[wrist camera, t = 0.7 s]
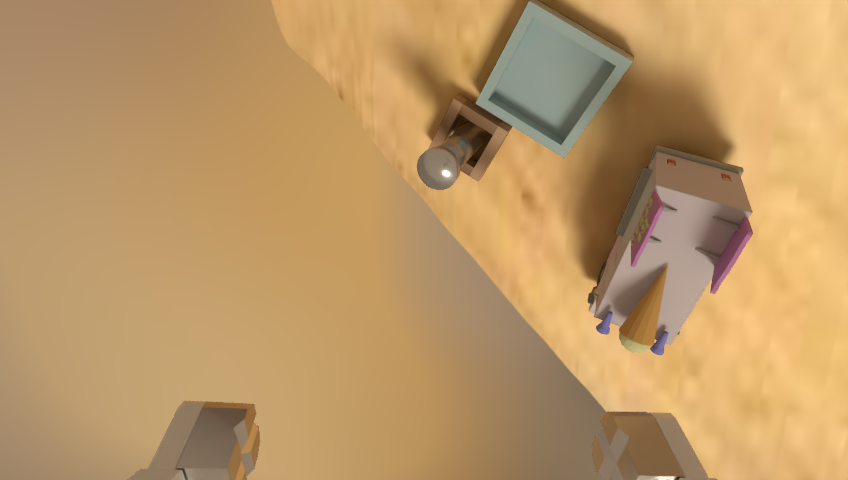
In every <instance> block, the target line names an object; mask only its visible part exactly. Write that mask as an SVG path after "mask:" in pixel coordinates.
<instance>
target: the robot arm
mask: <svg viewBox="0 0 848 480" xmlns="http://www.w3.org/2000/svg"><path fill="white" fill-rule="evenodd" d="M255 416H256V410H255V406H254V404H243V403H224V402H203V401H184V402H183V403H182V404H181V405H180V406H179V407H178V409H177V411H176V413H175V415H174V417H173V419H172V421H171V423H170V425H169V427H168V429H167V431H166V433H165V435H164V437H163V439H162V441H161V444H160V446H159V447H158V449H157V451H156V454H155V456H154V458H153V460H152V462H151V464H150V466H149V468H148V469H140V470H139V471H138V472H137V473H135V474H134V475H133V476H131V477H130V478H129V479H128V480H247V478H246V476H247V475H248V474H250V473H251V471H253V470H254V468H255V464H256V461H257V457H258V451H259V444H260V432H259V426H258V425H256V424H255V423H254V419H255ZM601 424H602V427H603V429H601V430H600V431H598V432H597V433H596V434H595V436H594V439H593V442H592V457H593V462H594V466H595V469H596V472H597V475H598V476H599V477H600V478H601V479H602V480H717V479H716V478H709V477H708V475H707V473H706V471H705V470H704V468H703V466H702V464H701V463H700V461H699V459H698V457H697V455H696V454H695V452H694V450H693V448H692V446H691V445H690V443H689V441H688V439H687V438H686V436H685V434H684V432H683V430H682V429H681V427H680V425H679V423H678V422H677V420H676V418H675V417H674V416H673V415H672V414H671V413H647V412H606V413H605V414H604V415H603V417H602V419H601Z"/></svg>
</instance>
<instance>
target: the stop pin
mask: <svg viewBox="0 0 848 480" xmlns="http://www.w3.org/2000/svg"><path fill="white" fill-rule="evenodd" d="M484 140H485V133H484V130H483V129H482V128H481V127H479V126H477V125H476V124H474V123H473V122H468V123H465V124H464V125H462V126H461V127H460V128H459V129H458V130H457V131H456V132H455V133H453V134H452V135H451V136H450V137H449V138H448V139H447V140H445V141H444V142H443V143H442V144H441V145H440V146H435V147H431V148H429V149H428V150H426V151H425V152H424V153H423V154H422V155H421V156H420V158H419V160H418V163H417V171H418V174H419V177H420V178H421V180H422V181H423V182H424V183H425V184H426V185H427V186H428V187H430V188H433V189H436V190H444V189H447V188H449V187H450V186H452V184H453V183H454V182H455V181H456V180H457V179H458V177H459V174H460V168H461V167H462V166H463V165H464V164H465V163H466V162H467V161H468V160H469V159H470V157H471V156H472V155H473V154H474V153H475V152H476V151H477V150H478V149H479V148H480V147H481V146H482V144H483V143H484Z"/></svg>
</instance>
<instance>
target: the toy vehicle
mask: <svg viewBox="0 0 848 480" xmlns="http://www.w3.org/2000/svg"><path fill="white" fill-rule="evenodd" d="M743 171H744V170H743V168H741V167H738V166H734V165H730V164H727V163H723V162H719V161H715V160H712V159H708V158H704V157H701V156H697V155H693V154H689V153H686V152H682V151H678V150H675V149H671V148H667V147H663V146H660V145H656V147H655V149H654V151H653V154H652V156H651V162H650V165H649V166H647V168H643V170H642V172H641V175H640V177H639V179H638V181H637V184H636V186H635V188H634V191H633V193H632V195H631V198H630V200H629V202H628V205H627V207H626V209H625V211H624V214H623V216H622V218H621V221H620V223H619V225H618V228H617V230H616V232H615V234H616V235H618V237H617V239H616V241H615V244H614V246H613V248H612V250H611V253H610V255H609V257H608V259H607V260H606V261H605V262H604V264H603V267H602V269H601V271H600V274H599V277H598V280H597V286H595V287H593V290H592V292H591V293H590V294H589V296H588V303H590V308H589V312H592V313H595V315H594V317H596V318H599V319H601V320H603V321H602V322H601V323H600V324H599V325H597V326H596V329H597V331H598V332H600V333H601V334H606V335H607V334H609V329H610V328H609V325H610V323H612V324H615V325H618V326H620V329H619V331H620V334H619V338H620V341H621V343H622V345H623V346H624V347H625V348H626V349H627V350H629V351H631V352H636V353H641V352H645V351H647V350H648V349H650V350H651V351H652V352H653V353H655V354H657V355H662V354H663V353H664V345H665V343H666V344H669V345H671V344H672V342H673V341H674V339H675V337H676V336H677V335H679V333H680V329H681V327H682V326H683V324H684V323H685V321H686V319H687V318H688V316H689V314H690V313H691V311H692V310H693V308H694V306H695V305H696V303H697V301H698V300H699V298H700V297H701V295H702V293H703V292H704V290H705V288H706V287H707V285H708V283H709V282H710V280H711V279H712V284H711V291H710V293H712V294H715V293H716V291H717V290H718V288H719V286H720V284H721V283H722V282H723V280H724V279H725V277H726V276H727V274H729V272H730V270H731V268H732V267H733V265H734V264H735V262H736V260H737V259H738V257H739V255H740V254H741V252H742V250H743V248H744V247H745V245H746V243H747V242H748V241H749V239H750V238H751V236H752V234H753V231H752V229H751V226H750V223H749V220H748V218H749V217H750V215H751V213H752V210H751V207H750V204H749V201H748V198H747V195H746V192H745V189H744V186H743V183H742V180H741V175H742V173H743ZM712 277H713V278H712ZM655 339H656V340H657V341H656V343H654V340H655Z"/></svg>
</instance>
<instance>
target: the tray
mask: <svg viewBox="0 0 848 480" xmlns="http://www.w3.org/2000/svg"><path fill="white" fill-rule="evenodd" d="M633 59H634V57H633V56H632V55H630V54H628V53H627V52H625V51H623V50H621V49H620V48H618V47H616V46H615V45H613V44H611V43H610V42H608V41H606V40H604V39H603V38H601V37H599V36H598V35H596V34H594V33H593V32H591V31H589V30H587V29H586V28H584V27H582V26H581V25H579V24H577V23H576V22H574V21H572V20H570V19H569V18H567V17H565V16H564V15H562V14H560V13H559V12H557V11H555V10H553V9H552V8H550V7H548V6H547V5H545V4H543V3H542V2H540V1H538V0H530V1H529V2H528V4H527V6H526V8H525V10H524V12H523V14H522V16H521V18H520V19H519V21H518V23H517V25H516V27H515V29H514V31H513V33H512V35H511V37H510V38H509V40H508V42H507V44H506V46H505V48H504V50H503V52H502V54H501V56H500V58H499V59H498V61H497V63H496V65H495V67H494V69H493V71H492V73H491V75H490V77H489V78H488V80H487V82H486V84H485V86H484V88H483V90H482V92H481V94H480V96H479V97H478V99H477V101H476V104H477V105H479V106H480V107H482V108H484V109H485V110H487V111H489V112H490V113H492V114H493V115H495V116H497V117H498V118H500V119H501V120H503V121H505V122H506V123H508V124H510V125H511V126H513V127H514V128H516V129H518V130H519V131H521V132H523V133H524V134H526V135H527V136H529V137H531V138H532V139H534V140H535V141H537V142H539V143H540V144H542V145H544V146H545V147H547V148H548V149H550V150H552V151H553V152H555V153H557V154H558V155H560V156H561V157H563V158H565V156H566V155H567V153H568V152H569V151H570V149H571V148H572V146H573V145H574V144H575V142H576V141H577V139H578V138H579V137H580V135H581V134H582V132H583V131H584V130H585V128H586V127H587V125H588V124H589V123H590V121H591V120H592V118H593V117H594V116H595V114H596V113H597V111H598V110H599V108H600V107H601V106H602V104H603V103H604V101H605V100H606V99H607V97H608V96H609V94H610V93H611V92H612V90H613V89H614V87H615V86H616V85H617V83H618V82H619V80H620V79H621V78H622V76H623V75H624V73H625V72H626V71H627V69H628V68H629V66H630V65H631V64H632V62H633Z"/></svg>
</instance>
